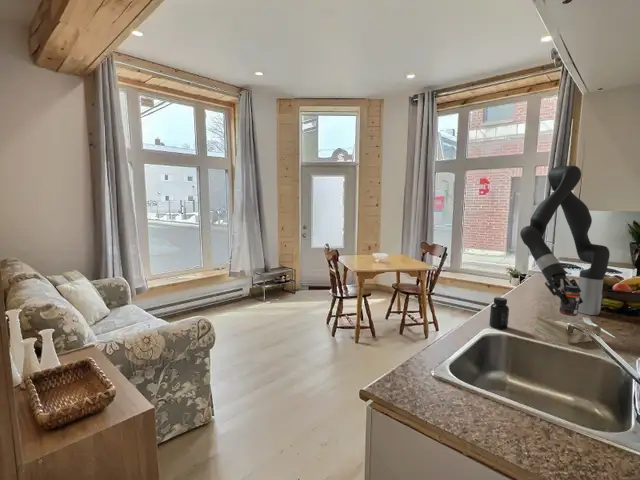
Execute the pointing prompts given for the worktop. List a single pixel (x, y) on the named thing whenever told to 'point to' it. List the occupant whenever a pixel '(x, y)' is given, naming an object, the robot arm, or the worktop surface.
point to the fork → (595, 325)
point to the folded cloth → (563, 331)
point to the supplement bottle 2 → (574, 301)
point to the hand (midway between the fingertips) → (574, 303)
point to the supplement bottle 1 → (499, 313)
